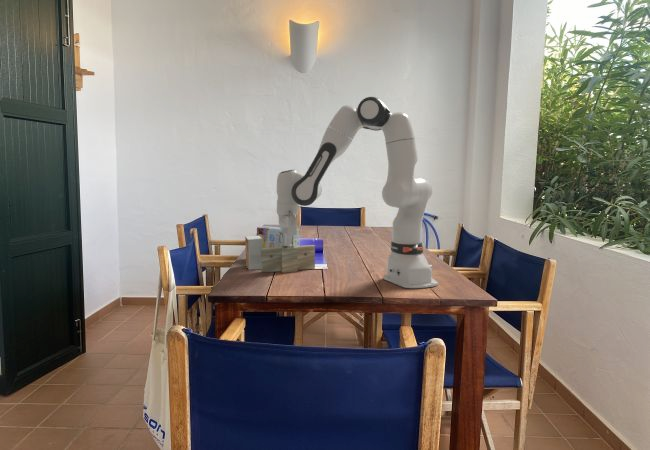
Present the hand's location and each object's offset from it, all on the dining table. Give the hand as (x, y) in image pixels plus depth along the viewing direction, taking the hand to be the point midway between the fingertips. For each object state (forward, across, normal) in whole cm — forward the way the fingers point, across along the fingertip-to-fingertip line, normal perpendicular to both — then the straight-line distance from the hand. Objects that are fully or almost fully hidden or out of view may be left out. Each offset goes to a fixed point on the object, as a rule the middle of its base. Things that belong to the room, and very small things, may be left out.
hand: (288, 243), depth 198 cm
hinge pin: (+7, 0, 0) cm, 7 cm away
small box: (+12, +9, +13) cm, 20 cm away
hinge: (+12, 0, 0) cm, 12 cm away
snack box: (+12, +19, +1) cm, 22 cm away
